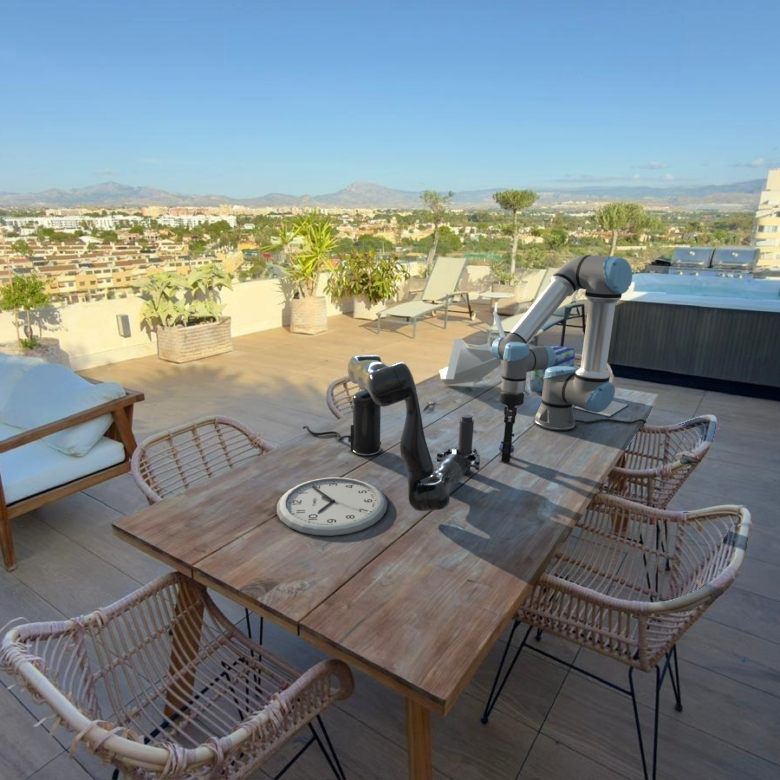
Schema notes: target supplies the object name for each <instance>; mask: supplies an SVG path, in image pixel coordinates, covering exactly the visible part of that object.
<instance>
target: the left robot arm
mask: <svg viewBox="0 0 780 780" xmlns="http://www.w3.org/2000/svg"><path fill="white" fill-rule="evenodd" d="M347 363H348V364H347V374H348V378H349V379H350V381H351V383H352V384H354V385H358V386H359V387H361V388H362V389H360V390H358V391H357V392H355V393H354V394H353V396H352V424H350V426H349V427H350V434H345V435H340V433H339V432H338V431H333V430H332V431H330V430H329V431H323V432H313V431H312V430H311V429H310V427H309V426H308V425H303V426H302V429H304V430H305V429H306V430H307V432H308V433H309V434H310V435H313V436H324V435H336V436H337V437H336V440H337V441H342V440H343V439H348V441H347V442H348V443H350V452H353V453H354V454H355V455H357V456H361V457H371V456H377V455H378V454H379V453H381V446H382V441H381V414H382V413H381V410H382V408H383V407H384V408H385V407H389V406H391V405H395V404H396V403H400V402H403V401H404V402H405V408H406V409H405V410H406V413H405V420H404V425H403V430H402V433H401V437H400V443H399V450H400V455H401V458H402V462H403V465H404V468H405V470H406V474H407V476H406V477H407V487H408V490H407V491H408V492H407V493H408V495H407V496H408V497H407V498H408V502H409V504H410V506H411V507H412V509H413V510H415V511H417V512H427V511H429V512H430V511H441V510H444V509H445V508H447V507H448V506H449V504H450V500H451V499H450V498H451V493H452V490H453V489H454V487H455V486H456V485H457V484H458V483H459V482H460V481H461V480H462V478H463V477H464V475H466V474H465V472H466V471H467V469H469V468H470V467H471V468H474V469H475V470H476V471H480V467H481V466H480V465H481V457H480V455H481V454H478V450H477V448H473V447H472V451H471V453H469V454H468V453H466V454H465V455H458V446H455V448H452V449H451V448H444V449H443V450H441V451H438V452H437V453H436V462H437V463H438V464H437V465H436V466H435V467H434V463H433V460H432V457H431V453H430V450H429V447H428V444H427V440H426V435H425V431H424V425H423V419H422V418H423V417H422V413H421V408H420V401H419V396H418V391H417V387H416V383H415V380H414V376H413V374H412V373H413V372H412V371H411V370H410V368H409V366H408V365H407V364H406V363H405V362H403V361H398V362H395V363H393V364H390V365H386V364H385V363H384V362H383V361H382V359H381V357H380V356H379V355H377V354H366V355H364V354H363V355H354V356H351V358H350V359H349V361H348V362H347ZM381 407H382V408H381ZM471 468H470V469H471ZM422 480H426V482H424V483H423V482H422Z"/></svg>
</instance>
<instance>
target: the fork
mask: <svg viewBox="0 0 780 780" xmlns="http://www.w3.org/2000/svg"><path fill="white" fill-rule="evenodd" d="M436 400H437V397H436V396H432V395H431V396H430V399H429V401H428V404H426V405H425V407H424V409H423V411H422V412H424V411H426V410H428V408H429V407H430V406H431V405H433V404H435V403H436Z"/></svg>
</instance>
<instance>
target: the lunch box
mask: <svg viewBox="0 0 780 780" xmlns="http://www.w3.org/2000/svg"><path fill="white" fill-rule="evenodd" d="M550 347H551V348H552V349H553V350H554V351H555V354H556V360H555V363H554V365H553V366H551V367H555V366H570V367H575V357H576V354H575V352H576V351H575V349H574V348H573V347H567V346H561V345H553V346H550ZM546 369H547V368H546ZM546 369H543V370H535V371H530V379H529V391H531V392H532V393H537V394H542V391H543V380H544V379H543V378H544V375H545V370H546Z"/></svg>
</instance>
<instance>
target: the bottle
mask: <svg viewBox="0 0 780 780" xmlns="http://www.w3.org/2000/svg"><path fill="white" fill-rule="evenodd" d="M460 417H461V418H460V419H459V430H458V444H457V445H458V446H457V447H458V455H465V454H466V453H468V454H469V453H471V451H472V450H473V438H474V426H475V425H474V422H475V421H474V419H473V415H472V414H469V413H464V414H461V416H460ZM471 468H472V467H470V468H469V469H467V471H466V472H465V474H464V475H469V474H471Z"/></svg>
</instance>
